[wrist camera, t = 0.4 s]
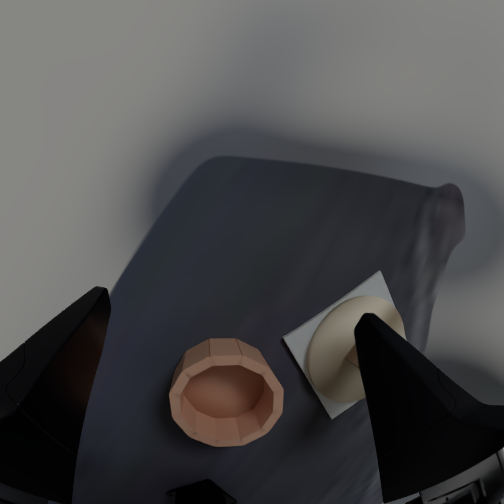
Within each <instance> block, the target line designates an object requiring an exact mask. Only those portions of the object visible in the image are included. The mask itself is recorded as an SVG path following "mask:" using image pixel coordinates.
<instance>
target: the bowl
mask: <svg viewBox="0 0 504 504" xmlns="http://www.w3.org/2000/svg"><path fill="white" fill-rule="evenodd" d="M283 393H284V390H283V388H282V386H281V384H280V383H279V381H278V380H277V378H276V376H275V375H274V373H273V372H272V370H271V369H270V367H269V365H268V364H267V362H266V361H265V359H264V358H263V356H262V354H261V353H260V351H259V350H258V349H256V348H254V347H252V346H250V345H248V344H246V343H244V342H242V341H240V340H238V339H235V338H219V339H209V340H208V339H207V340H205V341H203V342H202V343H200V344H198V345H196V346H194V347H192V348H191V349H189V350H187V351H186V352H185V354H184V355H183V357H182V359H181V361H180V362H179V364H178V366H177V368H176V369H175V372H174V376H173V380H172V384H171V388H170V393H169V397H170V405H171V412H172V417H173V419H174V420H175V422H176V423H177V424H178V425H179V426H180V427H181V428H182V429H183V431H184V432H185V433H186V434H187V435H188V436H190V437H191V438H193V439H196V440H198V441H201V442H203V443H206V444H209V445H212V446H214V447H215V445H216V447H224V446H241V445H242V444H243V445H245V444H247V443H249V442H251V441H253V440H255V439H257V438H259V437H261V436H263V435H265V434H267V433H268V432H269V430H270V429H271V428H272V427H273V425H274V424H275V422H276V421H277V420H278V418H279V417H280V416H281V414H282V410H283ZM266 432H267V433H266Z"/></svg>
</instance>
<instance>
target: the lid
mask: <svg viewBox="0 0 504 504" xmlns="http://www.w3.org/2000/svg"><path fill="white" fill-rule="evenodd" d="M364 313H374V314H376V315H377V316H378V317H379V318H380V319H382V320H383V321H384V322H385V323H386V324H388V325H389V326H390V327H391V328H392V329H393V330H395V331H396V332H397V333H398V334H399V335H401V336H402V337H403V338H404V326H403V322H402V319H401V316H400V315H399V313H398V311H397V310H396V308H395V307H394V306H393V305H392V304H391V303H389V302H388V301H386V300H384V299H382V298H378V297H374V296H365V295H364V296H357V297H353V298H350V299H348V300H345V301H344V302H342V303H340V304H339V305H337V306H336V307H335V308H333V309H332V310H331V311H330V312H329V313H328V314H327V315H326V316H325V317H324V318H323V320H322V321H321V322H320V324H319V325H318V327H317V329H316V330H315V332H314V334H313V337H312V339H311V342H310V345H309V349H308V355H307V367H308V373H309V376H310V379H311V381H312V383H313V384H314V386H315V387H316V388H317V389H318V390H319V392H320V393H321V394H322V395H324V396H325V397H327V398H329V399H330V400H333V401H337V402H353V401H357V400H360V399H363V398H365V397H366V396H365V391H364V387H363V383H362V378H361V374H360V370H359V364H358V358H357V351H356V344H355V338H354V328H355V326H356V325H357V323H358V321H359V320H360V318H361V316H362V315H363V314H364Z"/></svg>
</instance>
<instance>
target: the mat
mask: <svg viewBox="0 0 504 504" xmlns="http://www.w3.org/2000/svg"><path fill="white" fill-rule="evenodd" d="M364 295H365V296H374V297H378V298H382V299H384V300H386V301H388V302H389V303H391V304H392V305H393V306H394V303H393V301H392V298H391V296H390V293H389V291H388V288H387V286H386V283H385V281H384V278H383V276H382V274H381V271H378V272H376V273H375V274H374V275H372V276H371V277H370V278H368V279H367V280H366V281H364V282H363V283H362V284H360V285H359V286H358V287H356V288H355V289H354V290H352V291H351V292H349V293H348V294H347V295H345V296H344V297H342V298H341V299H340V300H338V301H337V302H335V303H334V304H332V305H331V306H330V307H328V308H327V309H325V310H324V311H322V312H321V313H319V314H318V315H316V316H315V317H313V318H312V319H310V320H309V321H307V322H306V323H304V324H303V325H301V326H300V327H298V328H297V329H295V330H293V331H292V332H290V333H289V334H287V335H285V336H284V337H283V339H284V340H285V342H286V344H287V345H288V347H289V349H290V351H291V352H292V354H293V356H294V357H295V359H296V361H297V362H298V364H299V366H300V368H301V369H302V371H303V373H304V374H305V376H306V378H307V379H308V381H309V383H310V384H311V386H312V388H313V389H314V391H315V393H316V394H317V396H318V398H319V399H320V401H321V403H322V404H323V406H324V408H325V409H326V411H327V413H328V414H329V416H330V418H331V419H333V418H335V417H336V416H338V415H339V414H341V413H342V412H343V411H345V410H346V409H348V408H349V407H350V406H352V405H353V404H355V403H356V402H357V401H359V400H357V401H353V402H337V401H333V400H330V399H329V398H327V397H325V396H324V395H322V394H321V393H320V392H319V390H318V389H317V388H316V387H315V386H314V384H313V383H312V381H311V379H310V376H309V373H308V367H307V355H308V349H309V345H310V342H311V339H312V337H313V334H314V332H315V330H316V329H317V327H318V325H319V324H320V322H321V321H322V320H323V318H324V317H325V316H326V315H327V314H328V313H329V312H330V311H331V310H332V309H333V308H335V307H336V306H337V305H339V304H340V303H342V302H344V301H345V300H348V299H350V298H353V297H357V296H364ZM394 307H395V306H394ZM404 339H405V340H406V337H405V334H404ZM406 341H407V340H406Z"/></svg>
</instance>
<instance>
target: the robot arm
mask: <svg viewBox="0 0 504 504" xmlns="http://www.w3.org/2000/svg"><path fill="white" fill-rule="evenodd" d="M110 313H111V304H110V299H109V293H108V290H107V288H104V287H98V286H96V287H94V288H93V289H91V290H90V291H88V292H87V293H86V294H84V295H83V296H82V297H81V298H79V299H78V300H76V301H75V302H74V303H72V304H71V305H70V306H69V307H67V308H66V309H65V310H64V311H62V312H61V313H60V314H58V315H57V316H56V317H54V318H53V319H52V320H51V321H49V322H48V323H47V324H46V325H45V326H43V327H42V328H41V329H40V330H39V331H37V332H36V333H35V334H33V335H32V336H31V337H30V338H29V339H28V340H26V341H25V343H23V344H21V345H20V346H19V347H18V348H17V349H16V350H14V351H13V352H12V353H11V354H10V355H8V356H7V357H6V358H5V359H3V360H2V361H1V362H0V504H48V500H49V501H53V502H56V503H60V504H71V503H72V493H73V483H74V475H75V467H76V461H77V454H78V448H79V442H80V437H81V432H82V427H83V422H84V418H85V413H86V409H87V405H88V401H89V397H90V393H91V389H92V385H93V382H94V378H95V374H96V371H97V368H98V364H99V361H100V358H101V354H102V350H103V346H104V341H105V336H106V331H107V326H108V322H109V318H110ZM354 338H355V344H356V351H357V358H358V364H359V370H360V374H361V378H362V383H363V387H364V391H365V396H366V400H367V405H368V410H369V415H370V420H371V425H372V430H373V435H374V441H375V447H376V452H377V459H378V466H379V473H380V480H381V488H382V496H383V502H384V503H388V502H392V501H395V500H397V499H401V498H404V497H407V496H409V495H412V494H415V493H418V492H419V494H420V496H418V497H417V498H415V499H413V500H411V501H409V502H406V503H405V504H504V406H503V405H487V404H483V403H481V402H479V401H478V400H477V399H475V398H474V397H473V396H471V395H470V394H469V393H467V392H466V391H465V390H464V389H462V388H461V387H460V386H459V385H457V384H456V383H454V382H453V381H452V380H451V379H450V378H449V377H448V376H446V375H445V374H444V373H443V372H442V371H441V370H440V369H438V368H437V367H436V366H435V365H434V364H433V363H432V362H430V361H429V360H428V359H427V358H426V357H425V356H424V355H423V354H421V353H420V352H419V351H418V350H417V349H416V348H415V347H413V346H412V345H411V344H410V343H409V342H408V341H406V340H405V339H404V338H403V337H402V336H401V335H399V334H398V333H397V332H396V331H395V330H393V329H392V328H391V327H390V326H389V325H388V324H386V323H385V322H384V321H383V320H382V319H380V318H379V317H378V316H377V315H376V314H374V313H364V314H363V315H362V316H361V318H360V320H359V321H358V323H357V325H356V326H355V328H354ZM167 496H168V497H170V498H171V499H172V500H174V501H175V504H237V501H236V500H235V499H234V498H233V497H231V496H230V495H229V494H227V493H226V492H225V491H224V490H222V489H221V488H220V487H219V486H217V485H216V484H215V483H214V482H213V481H211V480H209V479H207V480H203V481H201V482H198V483H195V484H191V485H188V486H185V487H182V488H178V489H175V490H171V491H168V492H167Z"/></svg>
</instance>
